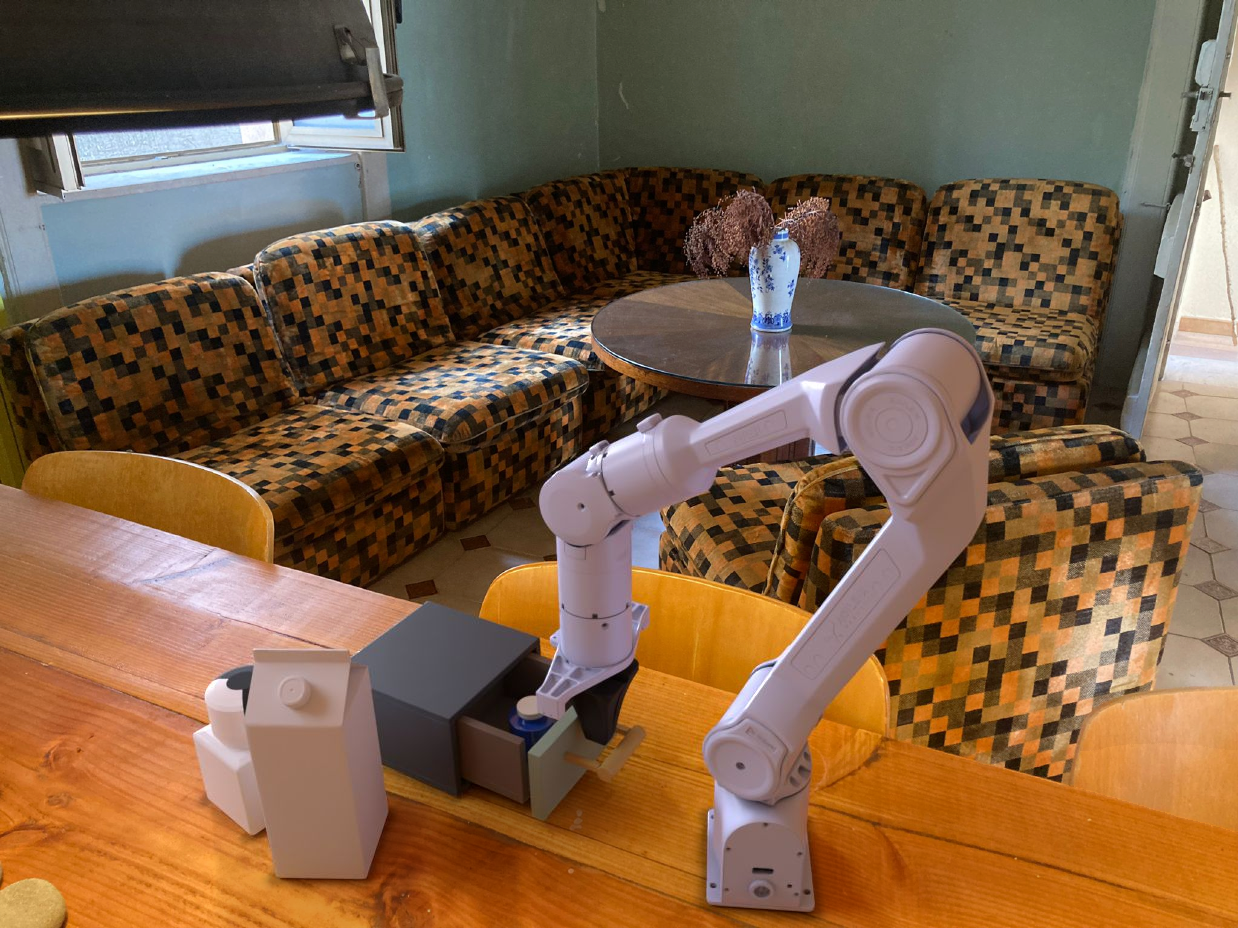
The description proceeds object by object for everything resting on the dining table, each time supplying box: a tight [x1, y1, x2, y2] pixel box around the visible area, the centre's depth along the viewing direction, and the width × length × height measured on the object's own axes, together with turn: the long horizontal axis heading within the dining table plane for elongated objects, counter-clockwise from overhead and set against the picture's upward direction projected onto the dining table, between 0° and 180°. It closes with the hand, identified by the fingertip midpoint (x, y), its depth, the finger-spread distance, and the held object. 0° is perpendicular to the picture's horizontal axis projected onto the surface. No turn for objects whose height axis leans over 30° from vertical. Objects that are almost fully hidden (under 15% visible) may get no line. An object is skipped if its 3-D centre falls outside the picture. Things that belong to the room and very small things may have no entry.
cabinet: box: [350, 600, 542, 798], centre depth 89 cm, size 13×13×8 cm
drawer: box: [455, 652, 647, 822], centre depth 84 cm, size 17×12×7 cm
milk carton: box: [244, 647, 389, 880], centre depth 74 cm, size 7×7×19 cm
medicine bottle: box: [192, 664, 266, 836], centre depth 81 cm, size 7×7×12 cm
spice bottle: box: [508, 696, 557, 763], centre depth 85 cm, size 4×4×5 cm
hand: (598, 737), depth 81 cm, fingers closed
